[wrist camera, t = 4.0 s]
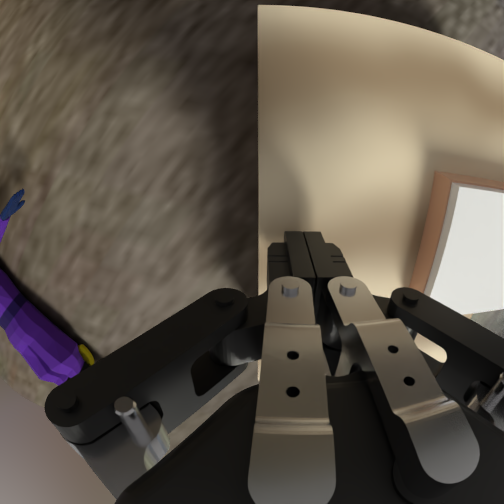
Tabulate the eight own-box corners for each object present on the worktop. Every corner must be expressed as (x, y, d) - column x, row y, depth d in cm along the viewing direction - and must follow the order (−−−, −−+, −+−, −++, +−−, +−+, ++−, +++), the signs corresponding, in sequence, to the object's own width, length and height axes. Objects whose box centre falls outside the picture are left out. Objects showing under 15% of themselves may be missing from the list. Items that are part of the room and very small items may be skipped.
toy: (224, 353, 28) (-2, 113, 17) (220, 401, 24) (-48, 127, 12) (87, 412, 36) (-60, 273, 25) (77, 442, 32) (-83, 296, 20)
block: (257, 36, 15) (257, 4, 9) (458, 68, 15) (525, 71, 9) (258, 312, 25) (258, 381, 19) (415, 306, 24) (447, 363, 18)
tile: (434, 170, 12) (457, 184, 10) (541, 190, 12) (562, 203, 10) (405, 297, 15) (419, 320, 14) (510, 288, 15) (525, 306, 13)
